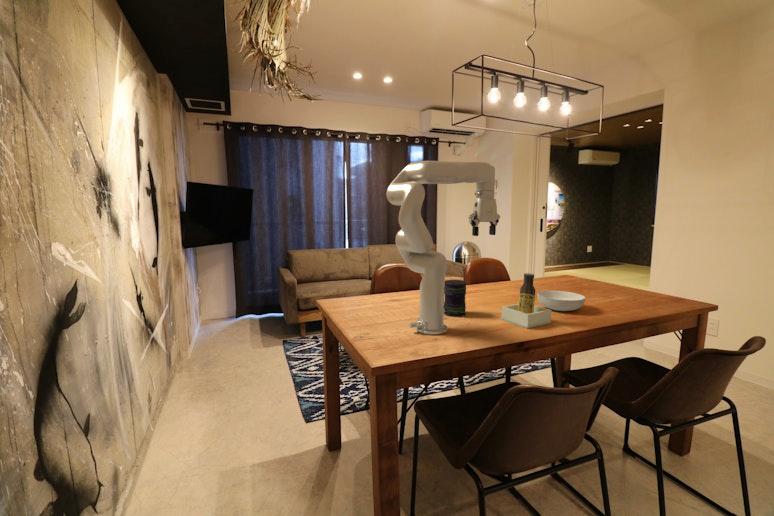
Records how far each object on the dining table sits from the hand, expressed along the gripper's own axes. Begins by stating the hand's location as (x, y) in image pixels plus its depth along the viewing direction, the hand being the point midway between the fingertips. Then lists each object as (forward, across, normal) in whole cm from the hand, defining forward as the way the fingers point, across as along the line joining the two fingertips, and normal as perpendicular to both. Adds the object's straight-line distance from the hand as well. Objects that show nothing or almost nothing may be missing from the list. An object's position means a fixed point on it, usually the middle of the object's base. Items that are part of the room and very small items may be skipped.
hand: (483, 235), depth 162 cm
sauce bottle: (+36, +11, -15) cm, 40 cm away
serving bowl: (+37, +41, -9) cm, 56 cm away
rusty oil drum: (+36, -8, +9) cm, 38 cm away
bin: (+36, +11, -15) cm, 41 cm away
